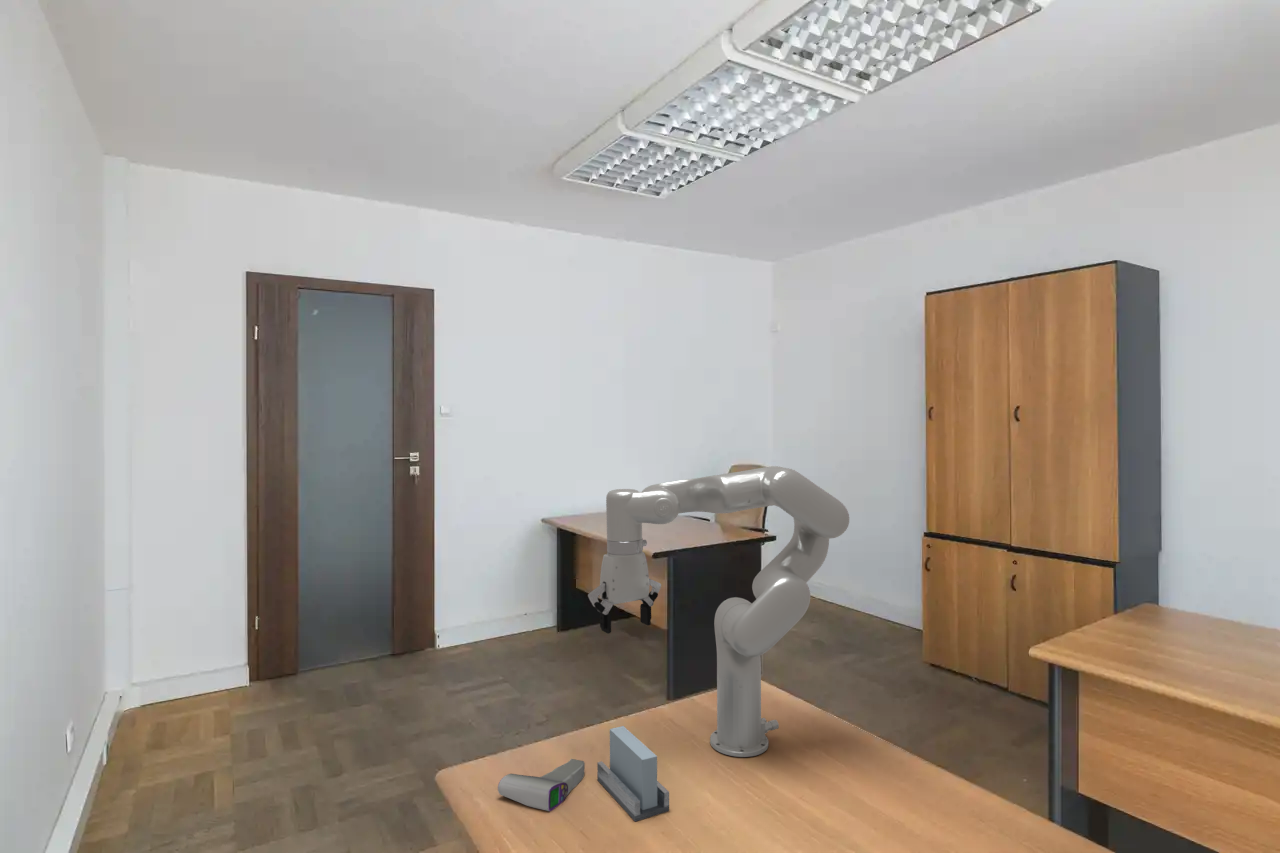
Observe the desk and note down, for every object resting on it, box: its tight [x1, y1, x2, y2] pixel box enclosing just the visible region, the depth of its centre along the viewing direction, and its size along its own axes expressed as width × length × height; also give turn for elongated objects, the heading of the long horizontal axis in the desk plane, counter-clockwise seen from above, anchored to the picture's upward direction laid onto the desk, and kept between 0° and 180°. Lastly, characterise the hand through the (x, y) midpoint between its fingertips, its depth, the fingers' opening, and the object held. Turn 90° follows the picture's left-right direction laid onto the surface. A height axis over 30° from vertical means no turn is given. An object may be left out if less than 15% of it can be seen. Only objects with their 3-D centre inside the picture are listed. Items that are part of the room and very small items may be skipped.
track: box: [596, 760, 670, 822], centre depth 130 cm, size 16×7×4 cm, turn 28°
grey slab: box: [609, 725, 658, 810], centre depth 130 cm, size 14×3×9 cm, turn 27°
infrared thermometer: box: [497, 758, 586, 812], centre depth 132 cm, size 5×12×15 cm
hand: (626, 627), depth 146 cm, fingers open, 9 cm apart
